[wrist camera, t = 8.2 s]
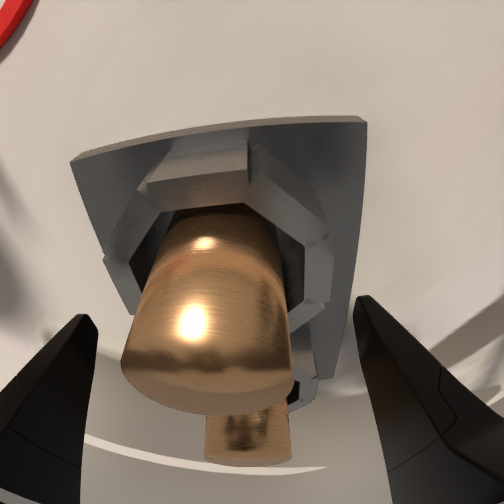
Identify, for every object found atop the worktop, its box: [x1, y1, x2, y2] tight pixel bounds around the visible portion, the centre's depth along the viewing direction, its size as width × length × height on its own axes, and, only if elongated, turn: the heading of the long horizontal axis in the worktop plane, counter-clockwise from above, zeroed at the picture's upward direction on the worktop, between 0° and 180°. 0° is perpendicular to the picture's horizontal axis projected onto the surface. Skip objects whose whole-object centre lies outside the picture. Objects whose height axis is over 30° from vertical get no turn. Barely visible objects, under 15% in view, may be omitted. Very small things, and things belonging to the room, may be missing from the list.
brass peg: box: [121, 202, 294, 416], centre depth 10 cm, size 4×4×7 cm
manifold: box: [70, 116, 367, 467], centre depth 13 cm, size 18×12×8 cm, turn 6°
